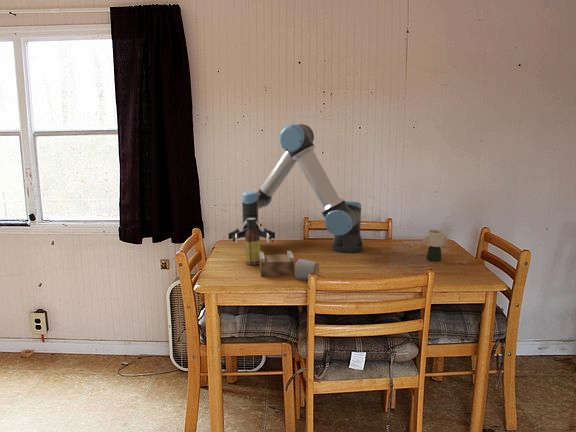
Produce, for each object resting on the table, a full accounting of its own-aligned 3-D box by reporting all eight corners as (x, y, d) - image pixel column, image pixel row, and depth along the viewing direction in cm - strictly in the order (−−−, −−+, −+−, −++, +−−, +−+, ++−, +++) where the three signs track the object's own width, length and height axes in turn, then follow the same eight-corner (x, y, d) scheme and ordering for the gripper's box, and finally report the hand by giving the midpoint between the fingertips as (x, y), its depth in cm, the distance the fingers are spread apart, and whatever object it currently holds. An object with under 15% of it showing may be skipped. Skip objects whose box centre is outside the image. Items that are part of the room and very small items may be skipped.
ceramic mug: (315, 283, 185) (315, 263, 183) (294, 281, 187) (294, 261, 186) (321, 275, 195) (321, 256, 193) (301, 273, 197) (301, 254, 196)
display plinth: (290, 268, 203) (291, 250, 201) (293, 275, 193) (293, 257, 192) (259, 269, 201) (259, 251, 200) (261, 276, 192) (260, 258, 190)
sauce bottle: (262, 262, 211) (262, 217, 207) (257, 266, 205) (256, 220, 201) (248, 260, 213) (248, 216, 209) (243, 264, 207) (242, 219, 203)
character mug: (441, 257, 220) (443, 229, 217) (449, 261, 213) (451, 232, 210) (418, 258, 218) (420, 229, 215) (425, 262, 211) (427, 233, 209)
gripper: (277, 236, 227) (281, 248, 207) (224, 237, 225) (222, 249, 204) (277, 220, 226) (281, 230, 205) (223, 221, 223) (222, 232, 203)
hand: (252, 240), depth 205 cm, fingers open, 13 cm apart
